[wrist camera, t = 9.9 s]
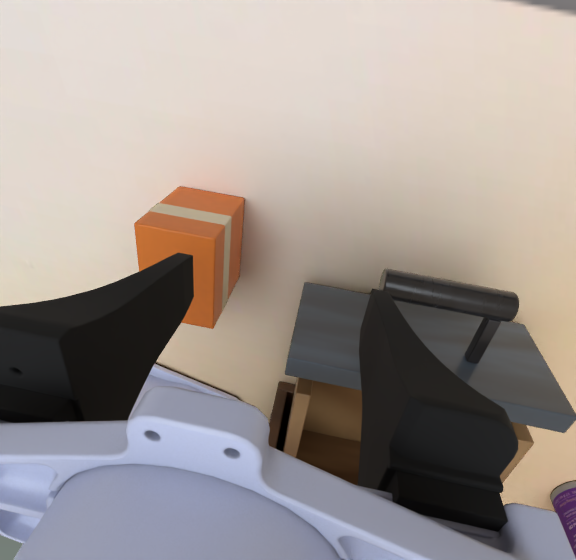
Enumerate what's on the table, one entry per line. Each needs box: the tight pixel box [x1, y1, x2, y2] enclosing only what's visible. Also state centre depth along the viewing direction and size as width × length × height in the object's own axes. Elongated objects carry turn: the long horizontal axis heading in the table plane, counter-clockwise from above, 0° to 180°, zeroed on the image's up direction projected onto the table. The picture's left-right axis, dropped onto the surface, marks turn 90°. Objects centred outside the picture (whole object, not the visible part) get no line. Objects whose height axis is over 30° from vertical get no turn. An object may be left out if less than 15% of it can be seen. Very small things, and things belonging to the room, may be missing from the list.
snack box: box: [134, 186, 244, 329], centre depth 22 cm, size 6×4×6 cm
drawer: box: [283, 269, 576, 486], centre depth 23 cm, size 18×13×7 cm
